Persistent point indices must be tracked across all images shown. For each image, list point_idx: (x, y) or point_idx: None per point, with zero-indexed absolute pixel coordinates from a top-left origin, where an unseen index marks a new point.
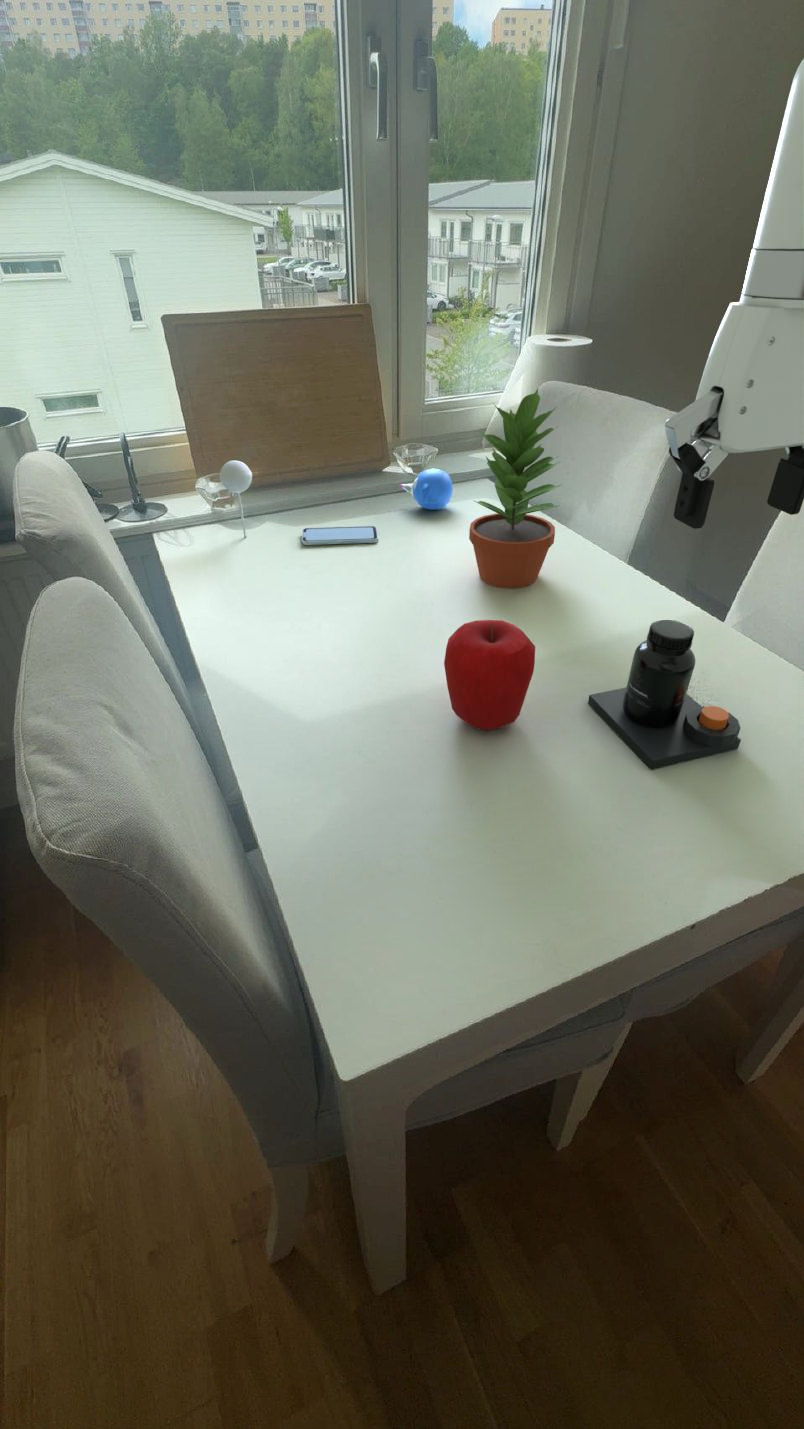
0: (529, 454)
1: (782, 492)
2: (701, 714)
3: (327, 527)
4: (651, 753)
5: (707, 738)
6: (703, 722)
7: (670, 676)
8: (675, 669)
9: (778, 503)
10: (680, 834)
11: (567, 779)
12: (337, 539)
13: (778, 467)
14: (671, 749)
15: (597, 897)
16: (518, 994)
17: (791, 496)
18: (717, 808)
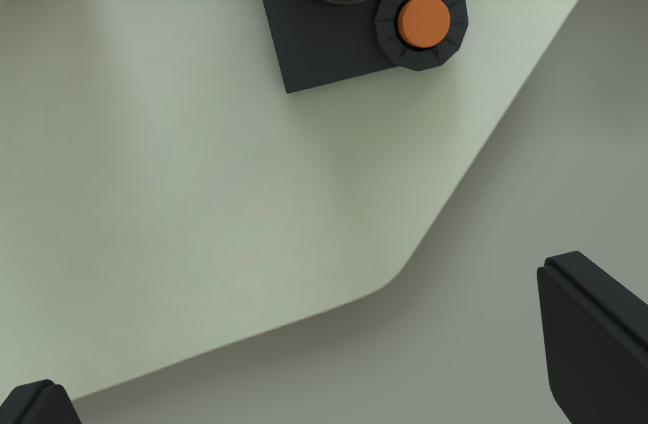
0: None
1: (580, 370)
2: (402, 16)
3: None
4: (290, 74)
5: (392, 62)
6: (400, 30)
7: (333, 4)
8: (343, 1)
9: (552, 336)
10: (280, 224)
11: (145, 101)
12: None
13: (645, 376)
14: (328, 67)
15: (145, 311)
16: None
17: (583, 419)
18: (352, 181)
